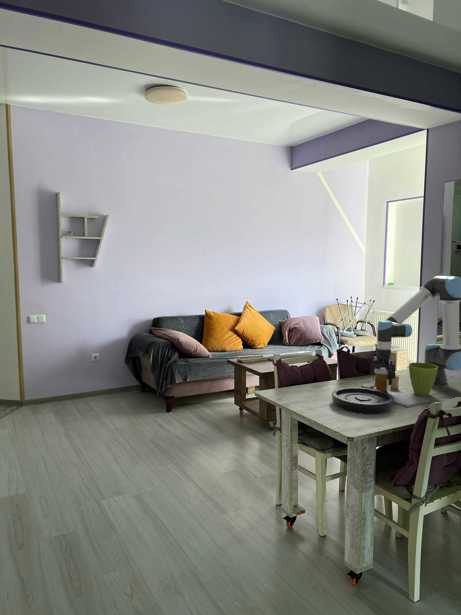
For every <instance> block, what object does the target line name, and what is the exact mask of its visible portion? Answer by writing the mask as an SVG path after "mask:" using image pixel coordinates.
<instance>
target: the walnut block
mask: <svg viewBox="0 0 461 615" xmlns="http://www.w3.org/2000/svg"><path fill="white" fill-rule="evenodd" d="M360 387H361V388H371V389H375V387H374V384H368V383H364V384H361V385H360Z"/></svg>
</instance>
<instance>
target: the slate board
mask: <svg viewBox="0 0 461 615" xmlns="http://www.w3.org/2000/svg"><path fill="white" fill-rule="evenodd" d="M391 395H392V396H393V397H394V402H393V405H397V406H401V407H404V408H412V407H415V406H419V405H422V404H425V403H426V404H427V403H429V401H430V400H429V399H426V398H423V397H418V396H416V395H412V394H408V393H406V392H400V393H395V394H391Z"/></svg>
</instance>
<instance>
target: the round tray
mask: <svg viewBox="0 0 461 615" xmlns="http://www.w3.org/2000/svg"><path fill="white" fill-rule="evenodd" d="M392 395H393V394H390V393H389V392H388V393H387V391H380V390H376V388H374V389H371V388H361V386H360V387H358V386H357V387H356V386H350V387H349V386H348V387H347V386H346V387H338V388H337V389H334V390H333V391H332V392H331V399H332V402H333V404H334V405H335V406H336V407H337V408H338V407H339V408H338V409H340V408H341V409H340V410H342V409H343V411H345V410H346V412H349V411H350V412H349V413H353V412H355V414H359V413H362V415H380V413H382V414H385V412H386V413H388V412H390V410H391V409H392V408H393V405H394V403H393V402H394V397H393V396H392Z"/></svg>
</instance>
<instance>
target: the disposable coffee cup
mask: <svg viewBox="0 0 461 615" xmlns="http://www.w3.org/2000/svg"><path fill="white" fill-rule="evenodd" d="M389 371H390V370H389ZM374 372H375V381H376V387H375V390H380V391H383V392H387V391H386V389H387V379H388V376H387V375H388V371H386V369H385V367H384V366H381V367H380V368H378V369H376V368H375V370H374Z"/></svg>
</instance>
